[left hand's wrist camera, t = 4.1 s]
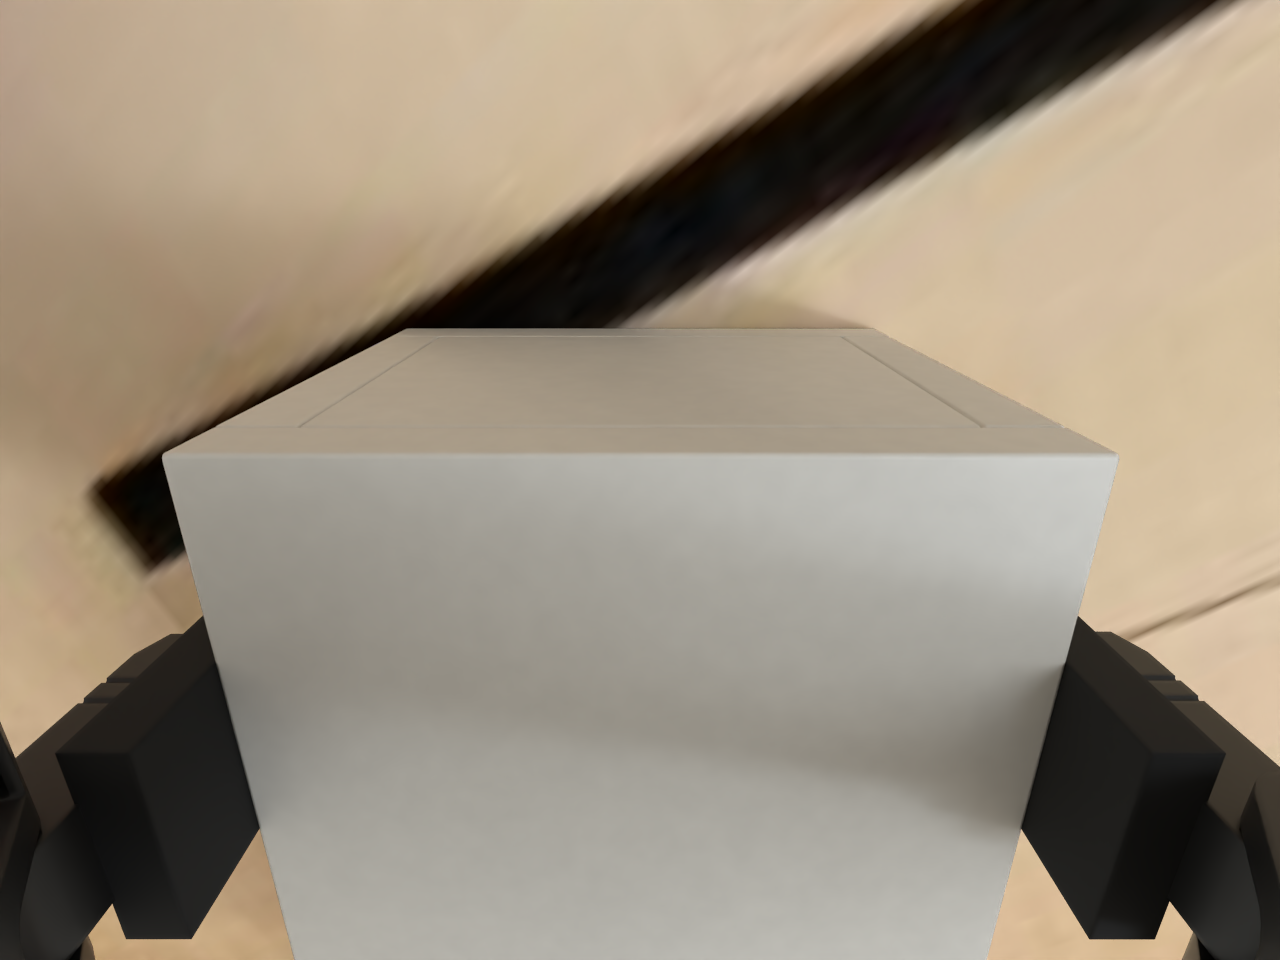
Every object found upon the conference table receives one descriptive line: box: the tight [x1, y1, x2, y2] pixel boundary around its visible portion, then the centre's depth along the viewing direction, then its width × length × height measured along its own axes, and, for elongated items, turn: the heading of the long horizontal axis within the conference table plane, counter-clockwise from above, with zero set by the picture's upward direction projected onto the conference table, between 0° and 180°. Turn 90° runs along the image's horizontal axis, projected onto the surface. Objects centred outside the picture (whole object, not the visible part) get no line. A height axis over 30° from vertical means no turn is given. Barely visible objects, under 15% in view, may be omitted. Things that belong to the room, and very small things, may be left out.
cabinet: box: [162, 329, 1119, 960], centre depth 15 cm, size 20×10×8 cm, turn 0°
